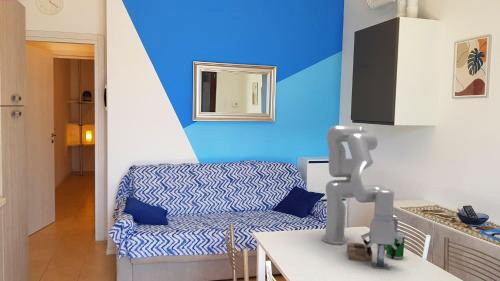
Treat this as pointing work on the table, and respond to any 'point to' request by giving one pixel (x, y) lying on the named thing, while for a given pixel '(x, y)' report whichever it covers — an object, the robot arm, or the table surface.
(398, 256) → the soda can
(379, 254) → the peg
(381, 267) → the mat
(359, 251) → the hole block
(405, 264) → the table surface
